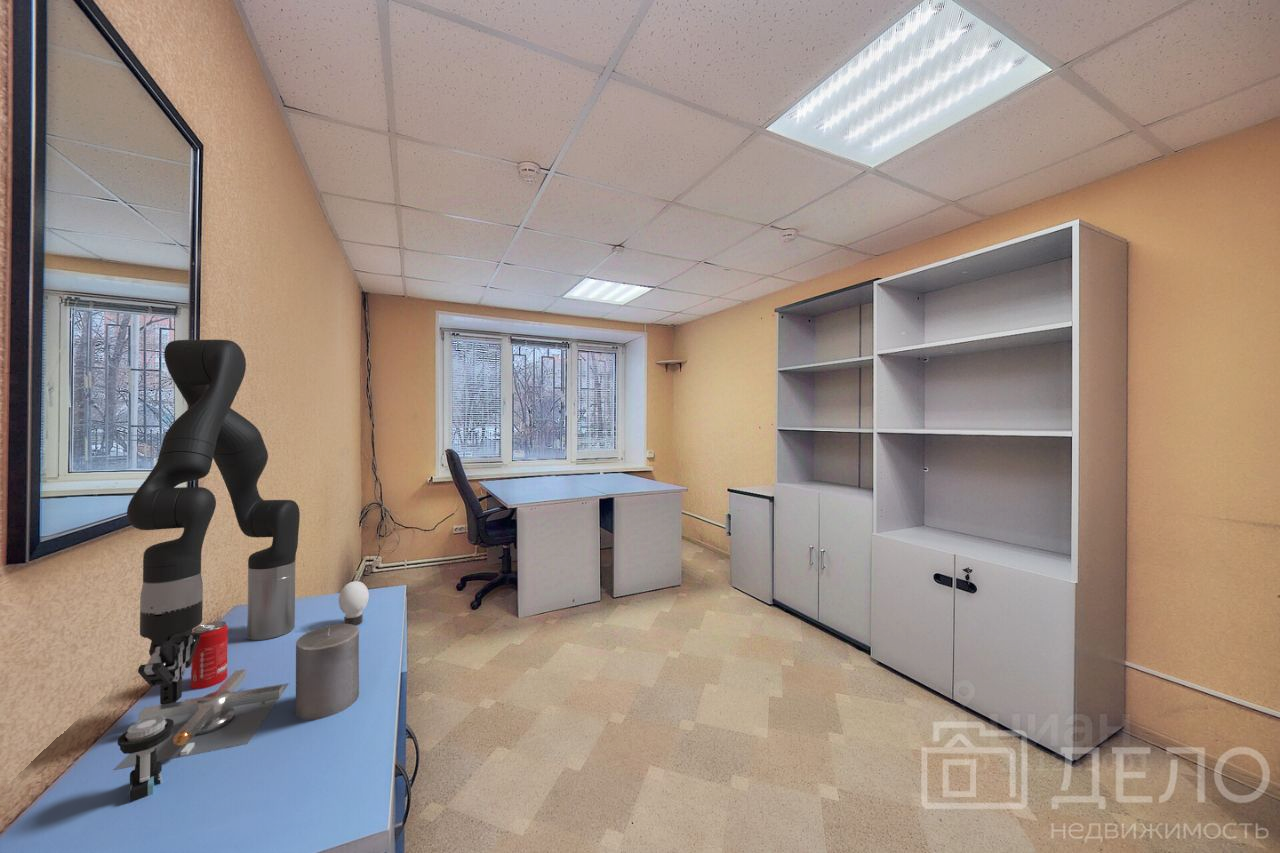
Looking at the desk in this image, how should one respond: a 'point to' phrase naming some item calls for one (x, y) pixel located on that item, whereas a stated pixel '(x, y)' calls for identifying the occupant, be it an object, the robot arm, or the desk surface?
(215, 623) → the beverage can
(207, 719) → the capstan
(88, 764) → the desk surface
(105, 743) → the desk surface
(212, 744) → the stand
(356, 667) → the pillar candle
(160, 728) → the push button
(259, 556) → the robot arm
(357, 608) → the light bulb
